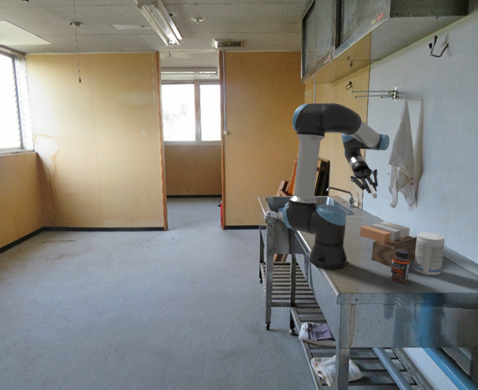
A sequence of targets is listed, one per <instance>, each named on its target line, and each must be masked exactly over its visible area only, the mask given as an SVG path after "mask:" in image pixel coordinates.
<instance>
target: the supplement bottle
mask: <svg viewBox="0 0 478 390" xmlns="http://www.w3.org/2000/svg"><path fill="white" fill-rule="evenodd" d="M409 270H410V258H409V257H408V251H406V250H402V249H397V250H396V254H395V255H393V257H392V264H391V267H390V272H389V278H390V279H391V280H392V281H394V282H397V283H406V282H407V281H408V277H409V272H410V271H409Z"/></svg>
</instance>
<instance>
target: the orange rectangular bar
mask: <svg viewBox="0 0 478 390" xmlns="http://www.w3.org/2000/svg"><path fill="white" fill-rule="evenodd" d="M359 232H360V233H359V236H361V237H363V238H365V239H366V238H367V239H369V240H373V241H378V242H381V243H388V242H390V235H391V233H390V232H386V231H383V230H380V229H376V228H373V227H371V226H370V225H362V226H360V231H359Z"/></svg>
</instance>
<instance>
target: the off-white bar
mask: <svg viewBox="0 0 478 390" xmlns="http://www.w3.org/2000/svg"><path fill="white" fill-rule="evenodd" d="M379 224H380V225H383V226H387V227H390V228H394V229H397V230H401V231H400V237H401V238H406V237H409V236H410V231H411V229H410V227H408V226H404V225H401V224H400V225H399V224H396V223H392V222H389V221H386V220H385V221H380V223H379Z"/></svg>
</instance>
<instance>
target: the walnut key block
mask: <svg viewBox="0 0 478 390" xmlns="http://www.w3.org/2000/svg"><path fill="white" fill-rule="evenodd" d="M416 241H417V236H414V237H413V236H410V235H409V237H406V238H401V237H400V239H399V240H395V241H393V240H390V242H388V243H381V242H378V241H375V240H373V242H372V243H373V244H372V251H371V260H372V261H374V262H376V263H379V264H381V265H385V266H386V267H390V268H391V264H392V257H393V255H395V254H396V250H397V249H402V250H406V251H408V257H409V258H410V263H414V259H415V250H416Z"/></svg>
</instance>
